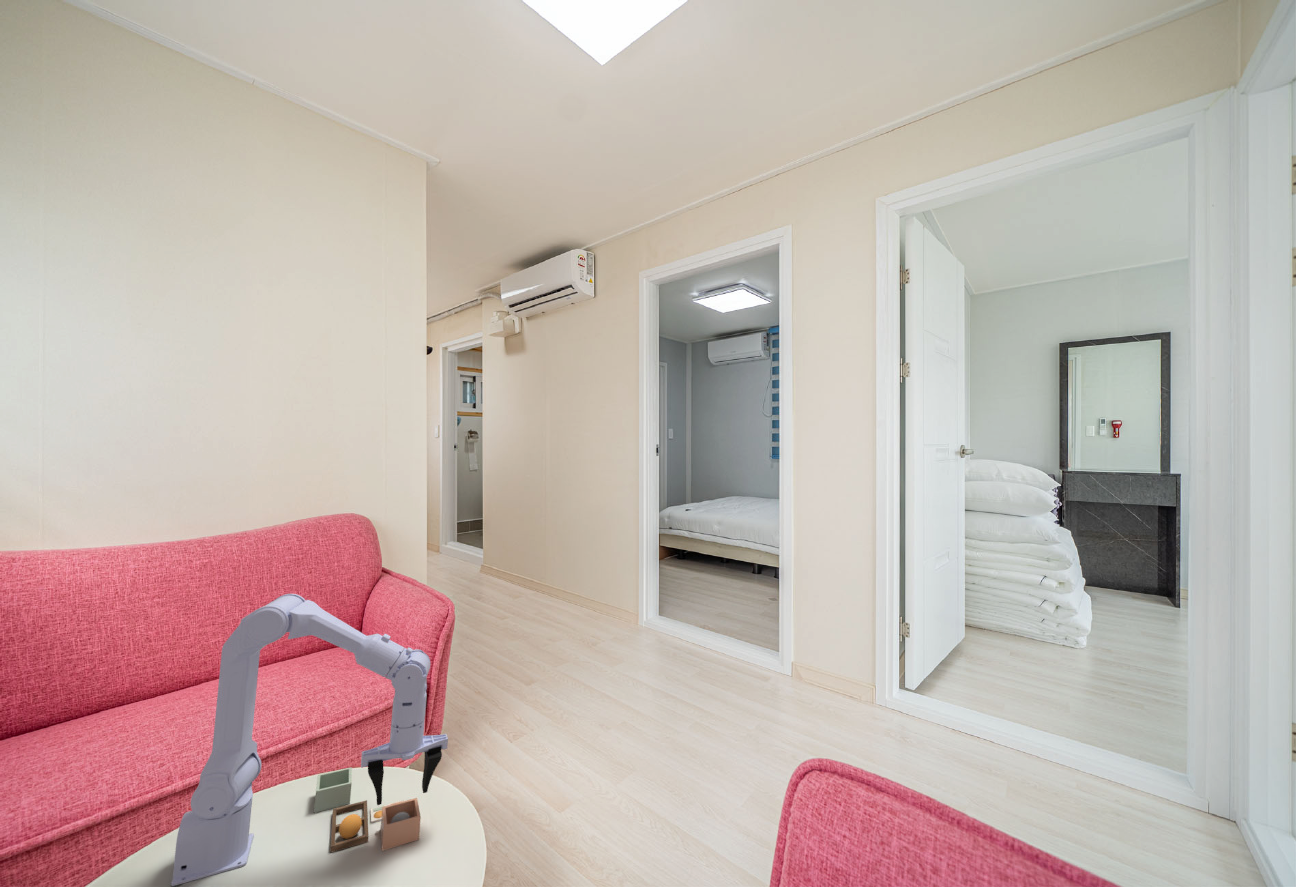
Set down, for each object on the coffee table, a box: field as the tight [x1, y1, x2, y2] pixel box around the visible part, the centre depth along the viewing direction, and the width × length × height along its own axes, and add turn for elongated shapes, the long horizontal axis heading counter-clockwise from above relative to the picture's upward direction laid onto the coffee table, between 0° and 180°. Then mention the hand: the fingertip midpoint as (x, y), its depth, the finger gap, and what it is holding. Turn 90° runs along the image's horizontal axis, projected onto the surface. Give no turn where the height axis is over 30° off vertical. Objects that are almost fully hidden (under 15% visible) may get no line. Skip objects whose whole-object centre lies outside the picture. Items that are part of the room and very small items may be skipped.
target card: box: [369, 799, 405, 824], centre depth 98 cm, size 6×4×1 cm, turn 121°
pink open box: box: [380, 797, 422, 852], centre depth 92 cm, size 6×6×4 cm
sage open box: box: [313, 766, 353, 814], centre depth 101 cm, size 6×6×4 cm
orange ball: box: [338, 813, 363, 840], centre depth 91 cm, size 4×4×4 cm
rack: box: [329, 799, 370, 854], centre depth 93 cm, size 6×11×1 cm, turn 31°
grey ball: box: [390, 812, 410, 824], centre depth 92 cm, size 4×4×4 cm
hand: (402, 795), depth 93 cm, fingers open, 7 cm apart
